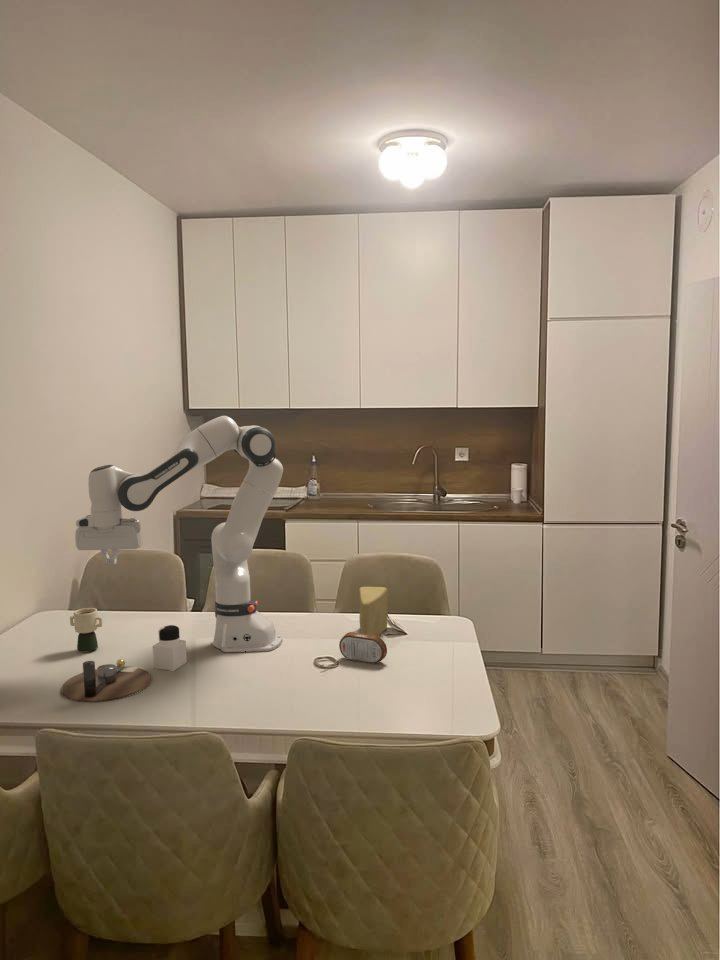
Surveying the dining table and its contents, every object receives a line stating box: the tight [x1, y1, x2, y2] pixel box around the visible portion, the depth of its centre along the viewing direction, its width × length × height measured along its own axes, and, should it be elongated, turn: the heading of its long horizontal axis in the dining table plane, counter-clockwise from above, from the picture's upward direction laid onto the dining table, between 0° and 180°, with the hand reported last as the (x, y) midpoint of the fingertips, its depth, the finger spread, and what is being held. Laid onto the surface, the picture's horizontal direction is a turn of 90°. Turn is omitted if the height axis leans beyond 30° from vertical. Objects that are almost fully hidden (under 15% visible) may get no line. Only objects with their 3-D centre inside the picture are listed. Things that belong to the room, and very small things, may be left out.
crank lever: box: [82, 658, 126, 697], centre depth 210 cm, size 5×22×9 cm, turn 179°
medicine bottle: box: [152, 624, 187, 672], centre depth 224 cm, size 7×7×12 cm
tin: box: [339, 631, 388, 665], centre depth 226 cm, size 15×3×8 cm, turn 65°
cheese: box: [358, 586, 389, 637], centre depth 246 cm, size 22×10×15 cm, turn 172°
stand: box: [61, 665, 153, 703], centre depth 211 cm, size 24×24×1 cm
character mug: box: [69, 607, 103, 653], centre depth 239 cm, size 11×7×13 cm, turn 81°
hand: (111, 563), depth 228 cm, fingers closed
